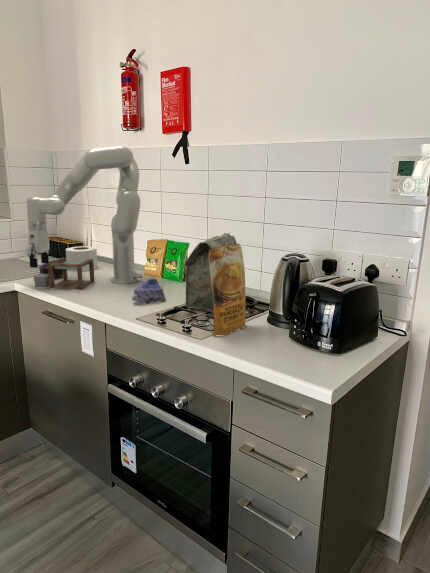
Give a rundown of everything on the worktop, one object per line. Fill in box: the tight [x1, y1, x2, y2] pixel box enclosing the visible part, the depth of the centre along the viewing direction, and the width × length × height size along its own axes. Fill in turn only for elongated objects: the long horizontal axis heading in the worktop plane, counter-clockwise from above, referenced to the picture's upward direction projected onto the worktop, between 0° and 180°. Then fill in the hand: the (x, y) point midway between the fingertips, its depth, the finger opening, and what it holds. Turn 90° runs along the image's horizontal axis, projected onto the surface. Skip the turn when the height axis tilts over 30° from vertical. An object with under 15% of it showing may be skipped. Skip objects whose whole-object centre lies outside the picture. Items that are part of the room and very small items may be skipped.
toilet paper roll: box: [65, 245, 99, 272], centre depth 230 cm, size 16×15×11 cm
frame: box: [48, 257, 95, 291], centre depth 196 cm, size 14×14×11 cm
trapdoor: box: [55, 260, 88, 270], centre depth 195 cm, size 10×11×1 cm
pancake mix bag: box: [208, 243, 246, 337], centre depth 141 cm, size 7×19×28 cm, turn 138°
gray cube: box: [33, 273, 50, 289], centre depth 194 cm, size 5×5×5 cm
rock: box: [38, 258, 63, 279], centre depth 209 cm, size 12×9×10 cm
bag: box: [184, 232, 238, 314], centre depth 169 cm, size 22×16×27 cm
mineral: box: [131, 277, 166, 305], centre depth 174 cm, size 14×10×10 cm
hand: (39, 265), depth 192 cm, fingers open, 9 cm apart
